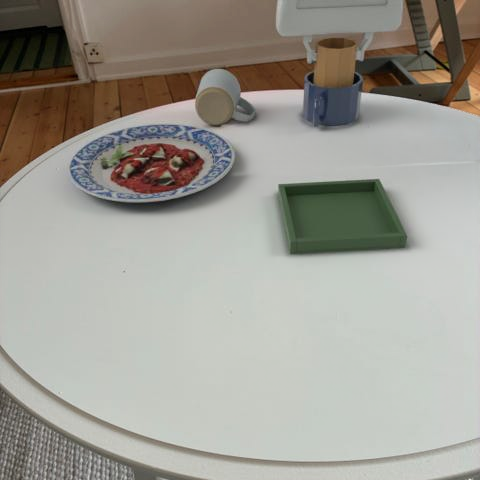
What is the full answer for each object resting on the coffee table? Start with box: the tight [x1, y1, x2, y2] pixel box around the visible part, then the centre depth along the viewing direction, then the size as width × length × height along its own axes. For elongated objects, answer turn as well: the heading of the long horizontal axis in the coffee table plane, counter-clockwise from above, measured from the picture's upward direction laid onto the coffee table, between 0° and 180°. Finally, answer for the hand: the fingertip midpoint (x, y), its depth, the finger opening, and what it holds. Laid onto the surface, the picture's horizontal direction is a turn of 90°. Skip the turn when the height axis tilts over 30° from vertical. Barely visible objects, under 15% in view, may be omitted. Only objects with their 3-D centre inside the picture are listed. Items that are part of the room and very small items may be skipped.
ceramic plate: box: [67, 123, 236, 203], centre depth 84 cm, size 26×26×3 cm
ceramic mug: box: [194, 68, 257, 127], centre depth 97 cm, size 11×8×8 cm
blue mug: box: [302, 70, 364, 128], centre depth 95 cm, size 13×10×7 cm
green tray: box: [277, 178, 408, 255], centre depth 73 cm, size 15×15×2 cm
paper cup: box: [313, 36, 358, 88], centre depth 94 cm, size 7×7×12 cm
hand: (334, 61), depth 92 cm, fingers closed on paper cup, 6 cm apart
